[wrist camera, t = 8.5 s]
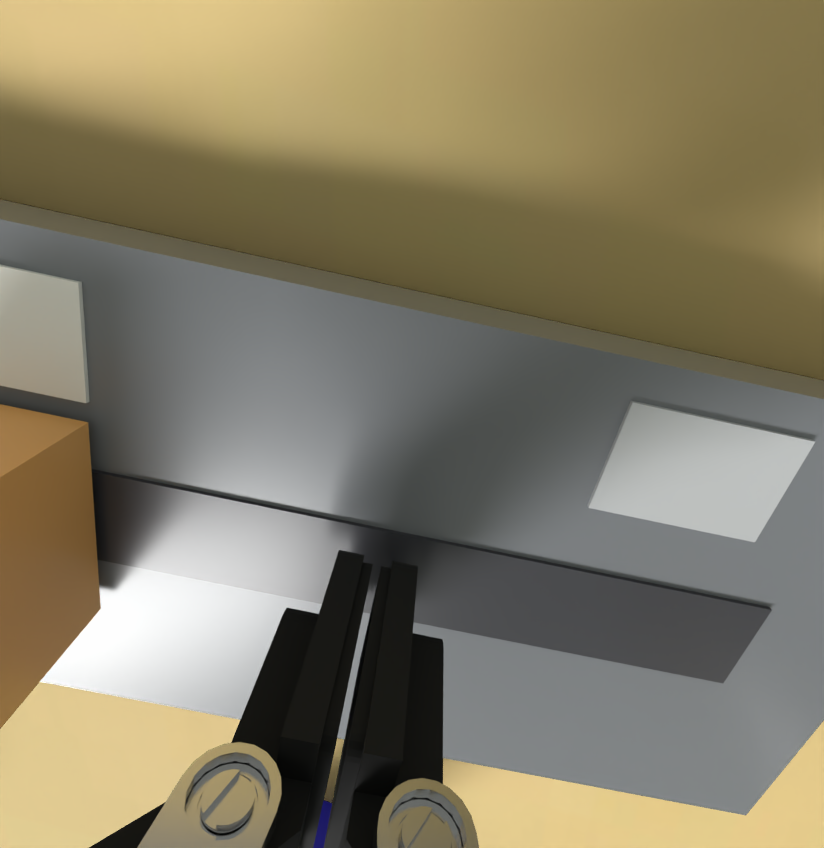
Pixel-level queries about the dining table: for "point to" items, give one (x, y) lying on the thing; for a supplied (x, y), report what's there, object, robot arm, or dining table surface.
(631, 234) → the dining table surface
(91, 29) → the dining table surface
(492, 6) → the dining table surface
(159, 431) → the switch panel
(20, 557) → the switch knob
